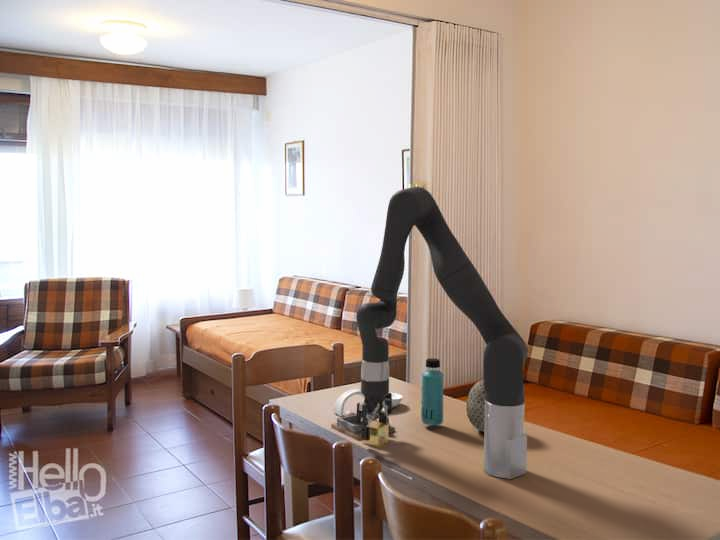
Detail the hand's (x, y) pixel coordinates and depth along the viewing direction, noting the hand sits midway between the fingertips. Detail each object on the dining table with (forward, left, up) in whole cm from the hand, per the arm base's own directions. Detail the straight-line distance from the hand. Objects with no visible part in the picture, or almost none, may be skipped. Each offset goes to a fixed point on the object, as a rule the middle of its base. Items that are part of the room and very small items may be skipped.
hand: (374, 435), depth 178 cm
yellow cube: (0, 0, -2) cm, 2 cm away
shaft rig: (+10, -4, -2) cm, 11 cm away
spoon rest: (+25, -17, -2) cm, 30 cm away
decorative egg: (-12, -31, -2) cm, 33 cm away
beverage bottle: (0, -21, -2) cm, 21 cm away
